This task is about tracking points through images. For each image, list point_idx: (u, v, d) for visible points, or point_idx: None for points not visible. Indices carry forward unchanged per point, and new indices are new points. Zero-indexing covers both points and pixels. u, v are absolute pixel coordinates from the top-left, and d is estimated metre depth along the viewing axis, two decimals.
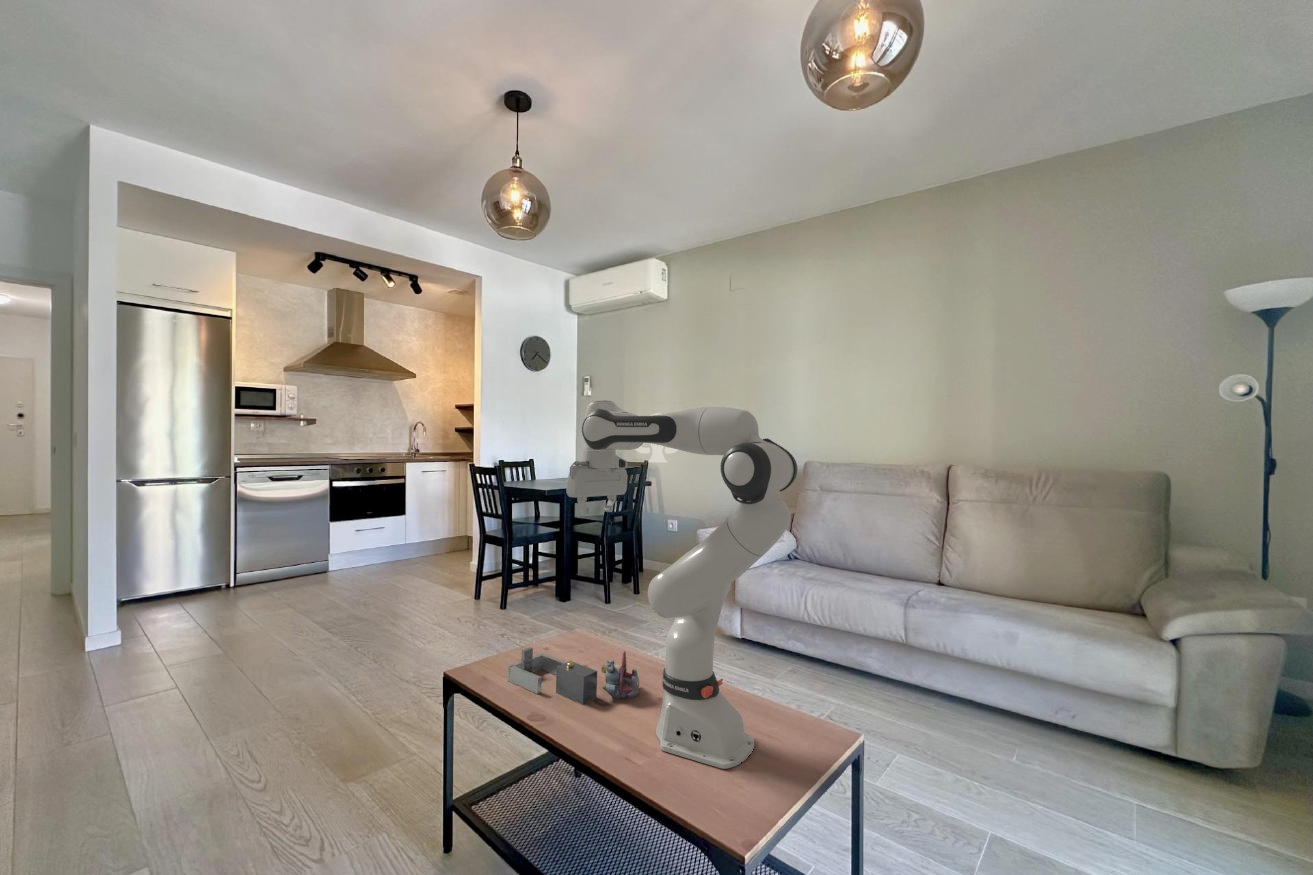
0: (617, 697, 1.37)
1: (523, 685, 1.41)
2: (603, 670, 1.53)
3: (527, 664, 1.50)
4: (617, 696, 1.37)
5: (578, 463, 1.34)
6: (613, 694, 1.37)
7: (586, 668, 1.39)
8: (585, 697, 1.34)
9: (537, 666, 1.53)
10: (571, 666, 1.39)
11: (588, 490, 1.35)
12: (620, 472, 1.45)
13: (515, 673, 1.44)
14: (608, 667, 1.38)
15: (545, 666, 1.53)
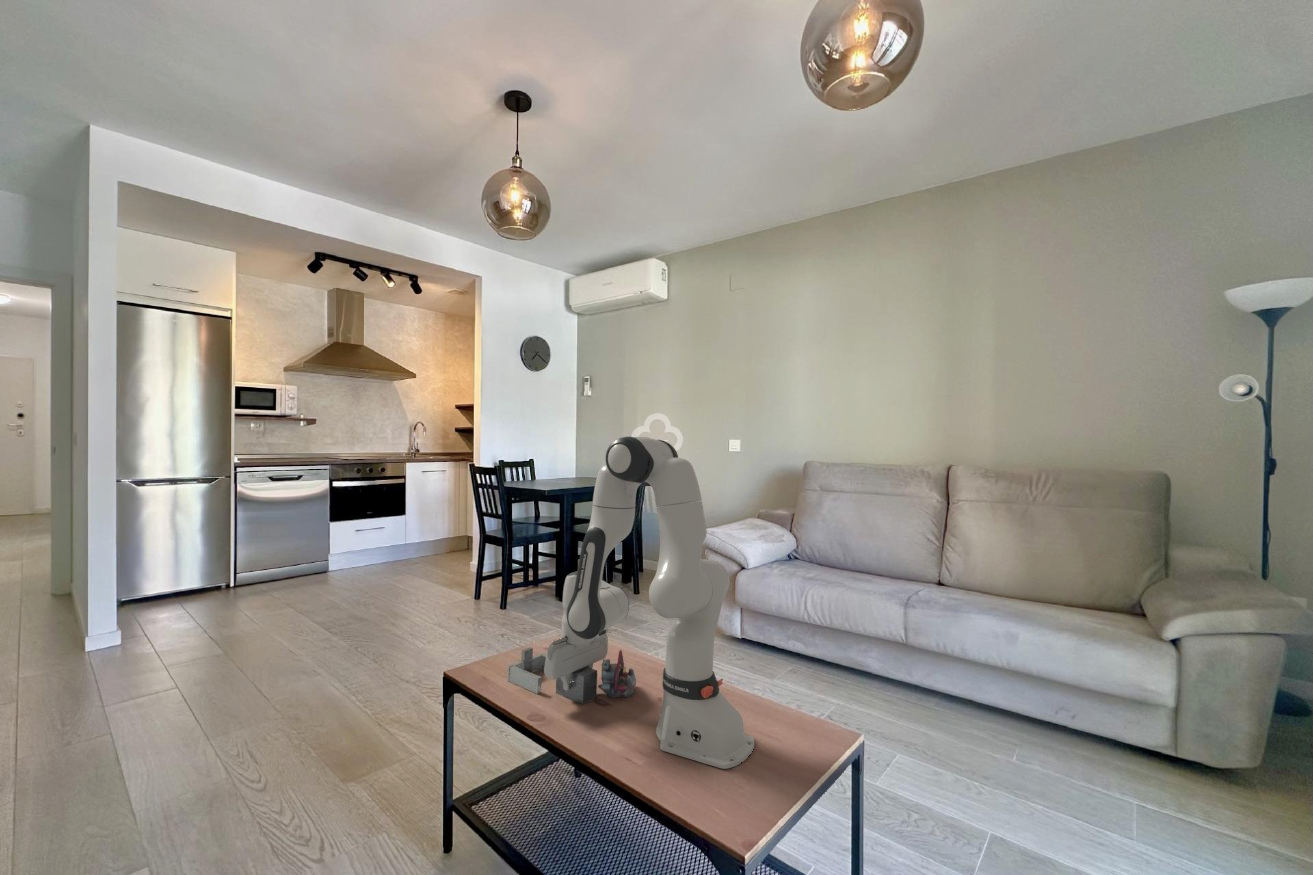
0: (612, 696, 1.38)
1: (523, 685, 1.41)
2: None
3: (527, 664, 1.50)
4: (612, 695, 1.37)
5: (556, 642, 1.32)
6: (608, 693, 1.37)
7: (586, 668, 1.39)
8: (585, 696, 1.34)
9: (537, 666, 1.53)
10: None
11: (566, 668, 1.33)
12: (600, 639, 1.42)
13: (515, 673, 1.44)
14: (604, 666, 1.38)
15: None
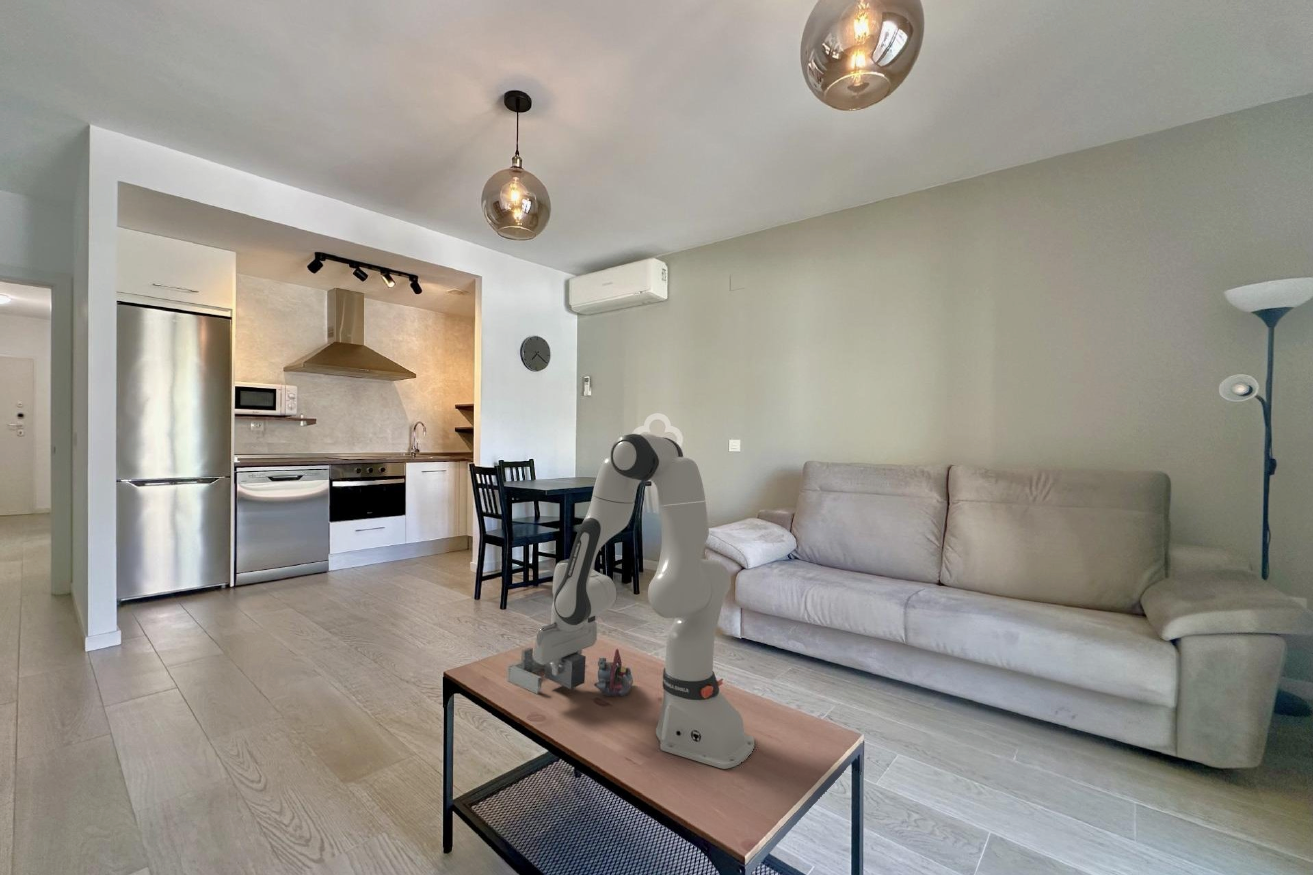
0: (608, 694, 1.38)
1: (523, 685, 1.41)
2: None
3: (527, 664, 1.50)
4: (608, 693, 1.38)
5: (545, 628, 1.35)
6: (604, 691, 1.38)
7: (575, 653, 1.41)
8: (573, 681, 1.37)
9: (537, 666, 1.53)
10: None
11: (555, 654, 1.36)
12: (589, 626, 1.45)
13: (515, 673, 1.44)
14: (600, 664, 1.39)
15: None
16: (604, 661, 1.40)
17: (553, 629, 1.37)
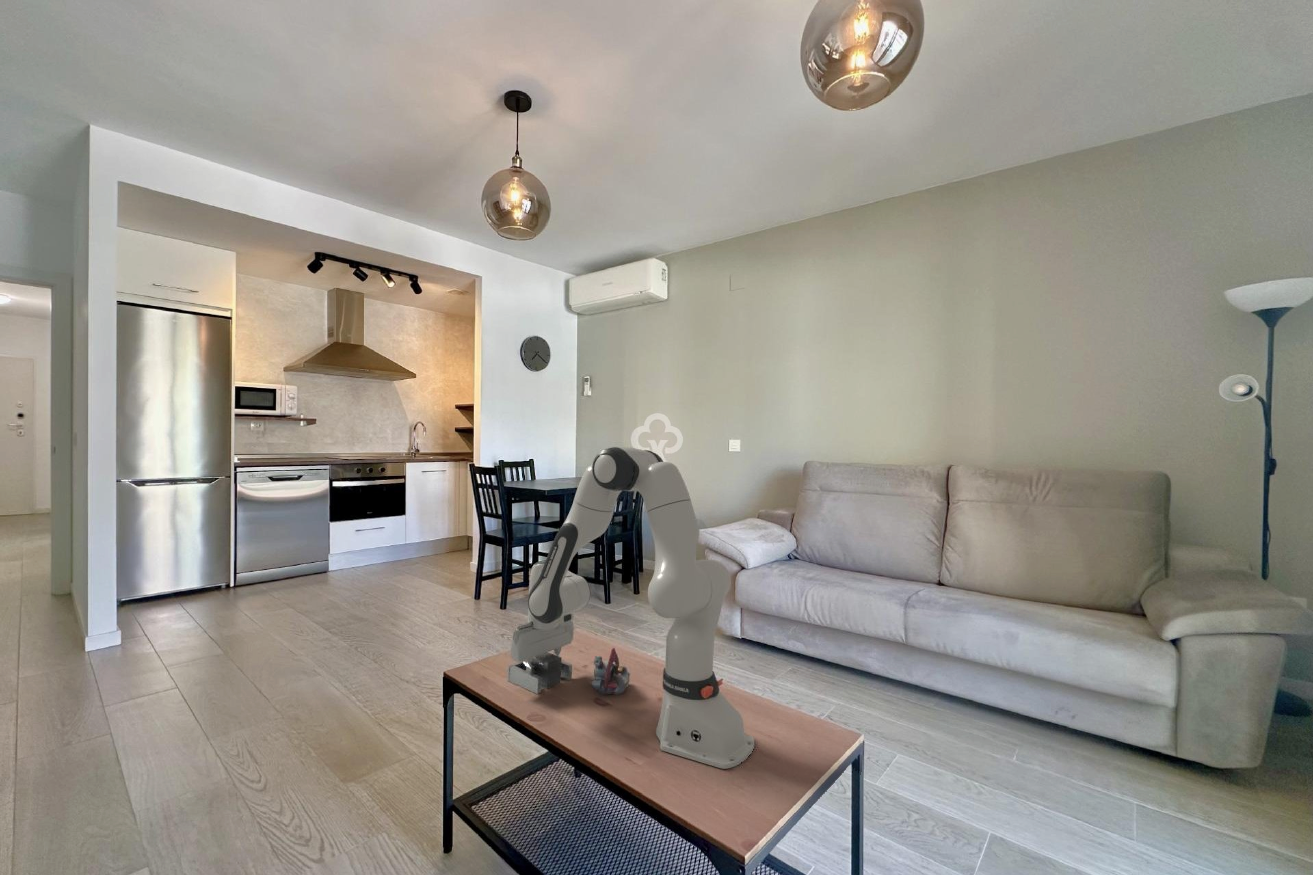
0: (603, 693, 1.39)
1: (523, 685, 1.41)
2: None
3: None
4: (603, 692, 1.39)
5: (521, 627, 1.40)
6: (599, 690, 1.39)
7: (551, 655, 1.47)
8: (549, 681, 1.42)
9: None
10: None
11: (531, 652, 1.41)
12: (566, 625, 1.50)
13: (515, 673, 1.44)
14: (595, 662, 1.40)
15: None
16: (600, 659, 1.41)
17: (529, 628, 1.42)
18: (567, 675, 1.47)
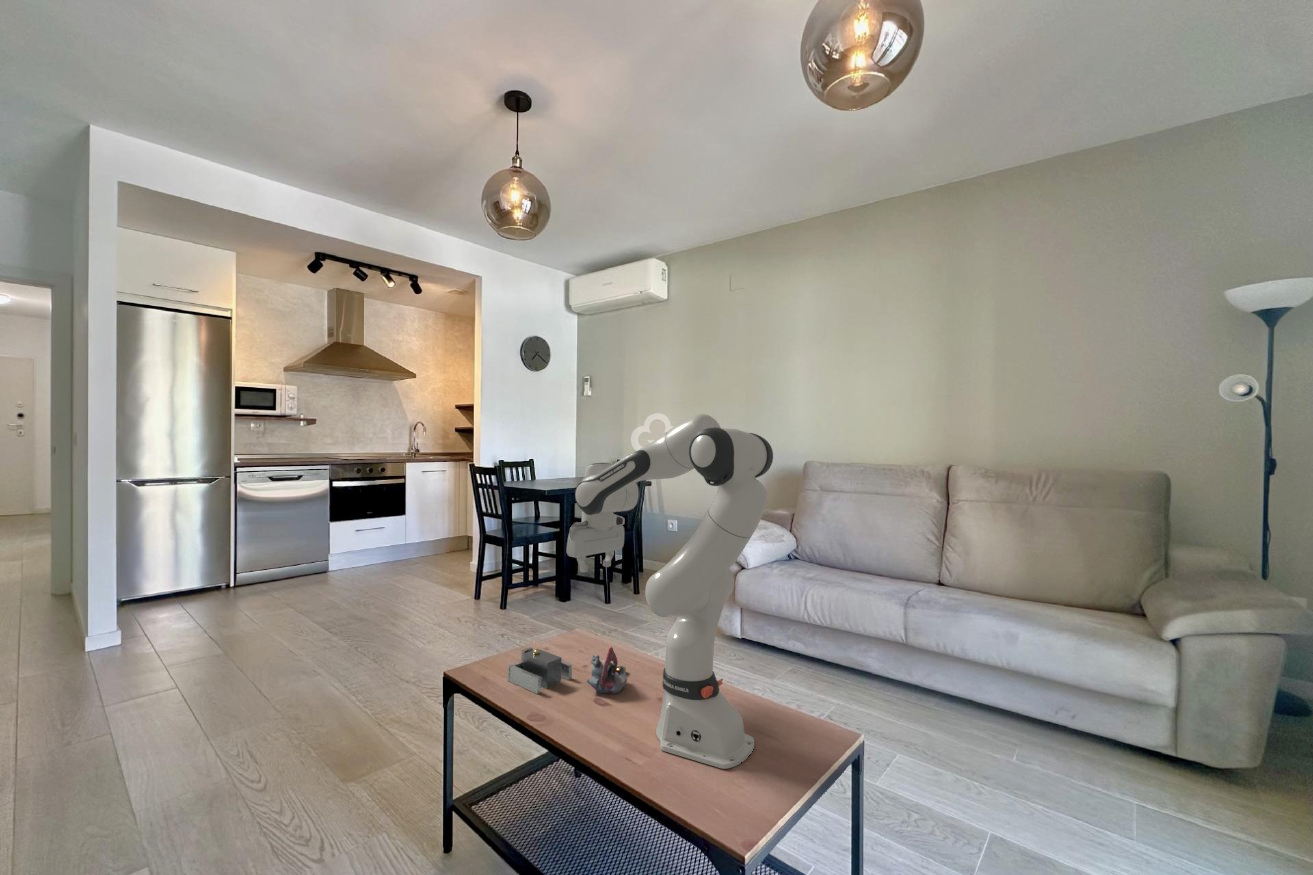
0: (600, 691, 1.40)
1: (523, 685, 1.41)
2: None
3: None
4: (600, 690, 1.40)
5: (577, 524, 1.42)
6: (596, 688, 1.40)
7: (551, 655, 1.47)
8: (549, 681, 1.42)
9: None
10: (537, 653, 1.47)
11: (587, 549, 1.43)
12: (617, 529, 1.52)
13: (515, 673, 1.44)
14: (592, 661, 1.41)
15: None
16: (597, 658, 1.41)
17: (584, 527, 1.44)
18: (567, 675, 1.47)
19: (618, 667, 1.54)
